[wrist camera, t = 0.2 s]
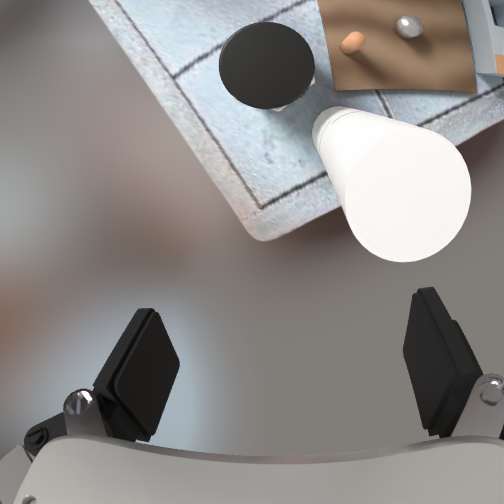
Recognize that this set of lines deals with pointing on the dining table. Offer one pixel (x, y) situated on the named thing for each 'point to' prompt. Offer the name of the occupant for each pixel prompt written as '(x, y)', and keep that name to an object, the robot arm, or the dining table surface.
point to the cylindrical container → (393, 182)
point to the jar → (266, 65)
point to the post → (408, 26)
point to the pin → (352, 43)
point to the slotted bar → (486, 35)
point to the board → (399, 45)
